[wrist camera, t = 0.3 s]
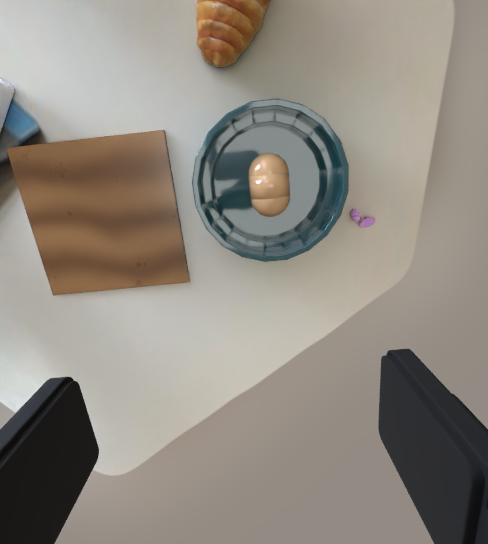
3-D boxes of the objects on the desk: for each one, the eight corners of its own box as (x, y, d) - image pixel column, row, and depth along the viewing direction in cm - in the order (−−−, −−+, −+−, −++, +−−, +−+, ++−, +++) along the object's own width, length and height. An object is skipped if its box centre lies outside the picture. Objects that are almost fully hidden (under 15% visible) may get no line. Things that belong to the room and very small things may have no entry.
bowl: (188, 116, 34) (181, 109, 30) (336, 99, 34) (348, 90, 30) (208, 257, 39) (204, 267, 35) (337, 244, 39) (348, 253, 35)
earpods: (363, 217, 39) (373, 208, 38) (367, 228, 38) (378, 218, 37) (345, 214, 38) (355, 204, 36) (349, 224, 37) (359, 214, 36)
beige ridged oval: (246, 155, 35) (246, 154, 31) (285, 151, 35) (290, 149, 31) (251, 215, 37) (252, 221, 33) (288, 212, 37) (294, 217, 33)
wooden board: (8, 148, 35) (5, 147, 35) (164, 130, 35) (163, 129, 34) (54, 294, 41) (53, 295, 40) (189, 281, 40) (189, 282, 40)
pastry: (243, 82, 33) (243, 71, 29) (183, 55, 32) (175, 40, 29) (279, -20, 30) (283, -46, 27) (214, -52, 30) (210, -83, 26)
